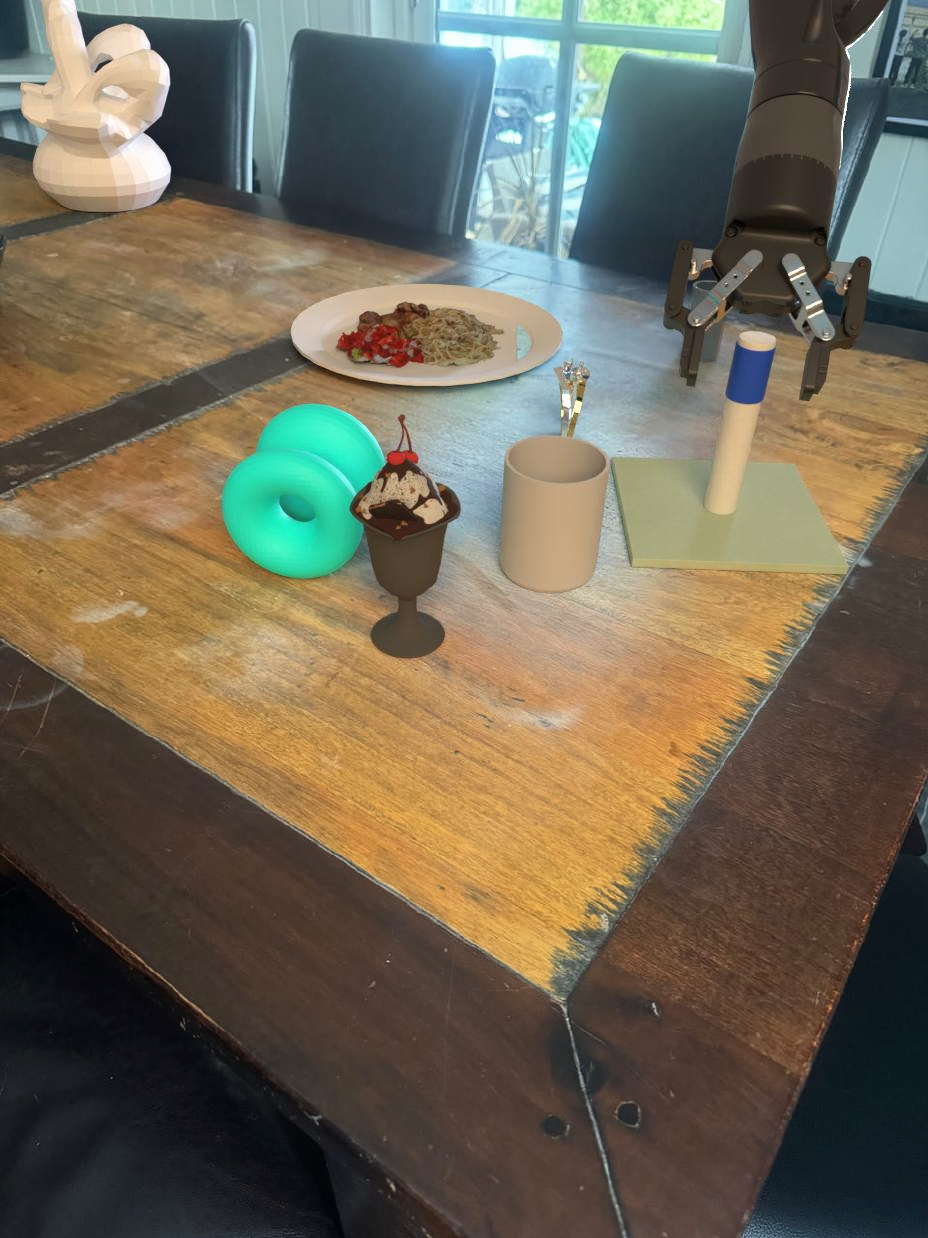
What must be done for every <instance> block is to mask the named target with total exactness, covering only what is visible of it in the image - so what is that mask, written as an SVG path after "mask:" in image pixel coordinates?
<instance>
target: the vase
mask: <svg viewBox="0 0 928 1238" xmlns="http://www.w3.org/2000/svg"><path fill="white" fill-rule="evenodd" d="M39 1H40V4H41V9H42V14H43V20H44V26H45V36H46V37H45V38H46V40H47V43H48V46H49V50H50V51H51V54H52V55H51V56H52V59H53V63H54V66H55V68H54V70H53V72H52V74H51V76H50V78H49V79H48V80H47V82H46V83H45V84H44V85H42V84H37V83H32V82H27V81H25V82H21V83H20V87H19V89H20V92H21V96H22V97H21V108H20V110H21V114H22V116H23V118H25V120H27V121H28V122H29V123H30V124H31V125H33V126H35V127H37V128H40V129H41V130H44V131H45V132H46V133H47V134H46V135H44V137H43V139H42V140H41V141H40V143H39V144H38V146H37V147H36V150H35V153H34V157H33V160H32V174H33V176H34V178H35V179H36V181H37V183H38V185H39V186H40V188H41V189H42V190H43V191H44V192H45V193H46V194H47V195H49V196H50V197H51V198H52V199H53V200H55V201H56V202H57V203H58V204H59V205H60V206H62V207H64V208H66V209H69V210H73V211H79V212H90V213H91V212H92V213H117V212H127V211H135V210H139V209H143V208H147V207H149V206H151V205H153V204H155V203H157V202H158V201H159V199H160V198H161V196H162V195H163V193H164V191H165V190H166V188H167V187H168V186H169V184H170V183H171V175H172V174H171V173H172V166H171V164H170V161H169V160H168V157H167V156H166V153H165V152H164V151H163V150H162V149H161V147H160V146H159V144H157V143H156V142H155V140H154V139H153V138H151V137H150V136H149V135H148V134H146V133H145V131H146V130H148V129H149V128H150V127H151V126H153V124H155V123H156V122H157V120H159V119H160V118H161V117H162V115H163V111H164V108H165V104H166V101H167V97H168V95H169V94H168V93H169V91H170V86H171V75H170V68H169V66H168V64H167V62H166V61H165V60H164V58H162V56H161V55H160V54H159V53H157V52H156V51H155V50H153V49H151V43H150V40H149V38H148V37H147V34H146V33H145V31H144V30H143V29H141V28H140V27H138V26H136V25H134V24H130V23H121V24H117V25H114V26H112V27H108V28H106V29H105V30H102V31H101V32H99V33H98V34H97V35H95V36H94V37H93V39H92V40H91V41H89V43H88V45H86V42H85V39H84V35H83V30H82V29H83V28H82V25H81V22H80V19H79V17H78V10H77V6H76V1H75V0H39ZM107 61H110V62H108V63H106V64H105V65H103V66H102V67H101V68H99V70H97V68H98V66H99V64H102V63H104V62H107ZM96 70H97V71H96ZM95 71H96V72H95Z"/></svg>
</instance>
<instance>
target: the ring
mask: <svg viewBox="0 0 928 1238" xmlns="http://www.w3.org/2000/svg"><path fill="white" fill-rule="evenodd" d="M584 363H585V362H584V361H579V365H578V366H574V359H573V358H568V362H567V361H563V362H562V366H561V365H560V366H557V367H553V368H552V370H553V372H554V375H555V377H556V379H557V381H558V385H559V393H560V407H561V408H560V409H561V412H560V413H561V416H560V417H561V423H560V435H559V436H567V437H572V438H574V433H575V430H576V427H577V426H576V425H577V421H578V420H579V419H578V418H579V414H580V411H581V407H582V402H583V399H584V395H585V390H586V386H587V381H588V380H589V378H590V376H591V371H590V370H589V368H587V367H584ZM575 385H576V392H575V402H574V406H573V399H574V390H575ZM572 407H573V410H572Z"/></svg>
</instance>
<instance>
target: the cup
mask: <svg viewBox="0 0 928 1238" xmlns="http://www.w3.org/2000/svg"><path fill="white" fill-rule="evenodd" d="M503 460H504V461H503V462H504V463H503V476H502V477H503V478H502V479H503V481H502V498H501V514H500V515H501V516H500V531H499V532H500V534H499V551H498V552H499V553H498V558H499V559H498V561H499V565H500V568H501V569H500V570H502V572H503V573H504V574H505V575H506V577H507V578H508V579H509V580H510V581H511V582H513V584H515V585H517V586H519V587H521V588H524V589H526V590H530V591H533V592H537V593H545V594H556V593H557V594H558V593H567V592H569V591H574V590H576V589H577V588H581V587H582V586H584V584H585V583H587V582H588V581H589V580H590V579H591V578H592V577H593V575H594V573H595V571H596V568H597V564H598V558H599V549H600V542H601V536H602V527H603V521H604V520H603V519H604V512H605V506H606V499H607V498H606V497H607V492H608V491H607V490H608V483H609V475H610V470H611V469H610V468H611V461H610V460H611V459H610V458H609V456H608V454H607V453H606V452H605V451H604V450H603V449H602V448H601V447H599V446H598V445H595V444H593V443H591V442H590V441H587V440H583V439H581V438H577V437H567V436H560V435H555V434H550V435H549V434H547V435H537V436H536V435H535V436H532V437H531V436H529V437H527V438H523V439H521V440H517V441H516V442H515V443H513V444H511V445H510V446H509V447H508V448H507V450H505V454H504V459H503Z"/></svg>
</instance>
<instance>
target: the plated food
mask: <svg viewBox="0 0 928 1238" xmlns="http://www.w3.org/2000/svg"><path fill="white" fill-rule="evenodd" d="M517 326H519V327H520V328H521V329H523V330H524V332H526V334H527V335H528V337H529V341H530V347H529V350H528V352H527V353H526V354H525V355H523V357H521V358H520V359H519V358H518V337H517V336H518V335H517V333H518V332H517V331H518V330H517ZM563 335H564V332H563V329H562V326H561V324H560V322H559V321H558V320H557V319H556V318H555V317H554V316H553V315H552V313H550V312H549V311H547V310H545V309H544V308H542V307H541V306H539V305H537V304H535V303H532V302H530V301H529V300H525V299H523V298H520V297H517V296H513V295H511V294H508V293H504V292H499V291H496V290H490V289H487V288H482V287H481V288H480V287H472V286H465V285H457V284H456V285H455V284H444V283H443V284H441V283H406V284H405V283H404V284H389V285H388V284H387V285H382V286H374V287H365V288H362V289H356V290H351V291H347V292H343V293H339V294H337V295H333V296H330V297H326V298H325V299H322V300H320V301H318V302H316V303H314V304H312V305H310V306H309V307H306V309H305V310H303V311H301V312H300V313H299V315H297V317H296V318H295V319H294V320H293V321H292V325H291V328H290V337H291V341H292V345H293V347H295V349H296V350H297V351H298V353H300V355H302V357H304V358H306V359H307V360H309V361H311V362H312V363H314V364H316V365H317V366H320V367H322V368H324V369H327V370H329V371H331V372H334V373H337V374H341V375H343V376H347V377H350V378H354V379H358V380H364V381H370V382H375V383H382V384H389V385H399V386H400V385H401V386H414V387H433V386H435V387H448V386H449V387H450V386H460V385H461V386H462V385H474V384H480V383H485V382H486V383H487V382H491V381H496V380H497V381H498V380H501V379H506V378H508V377H512V376H515V375H519V374H522V373H525V372H528V371H531V370H532V369H534V368H536V367H540V366H541V365H543V364H544V363H546V362H547V361H549V360H550V359H551V358H553V356H555V355H556V353H557V352H558V351H559V349H560V348H561V347H562V341H563Z"/></svg>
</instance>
